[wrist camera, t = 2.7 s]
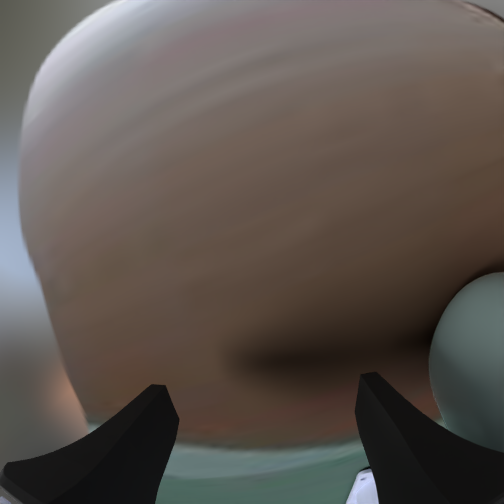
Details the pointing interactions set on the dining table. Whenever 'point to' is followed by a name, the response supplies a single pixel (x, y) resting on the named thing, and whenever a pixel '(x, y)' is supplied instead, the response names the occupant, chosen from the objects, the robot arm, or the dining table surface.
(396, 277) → the dining table surface
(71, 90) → the dining table surface
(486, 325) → the cup
